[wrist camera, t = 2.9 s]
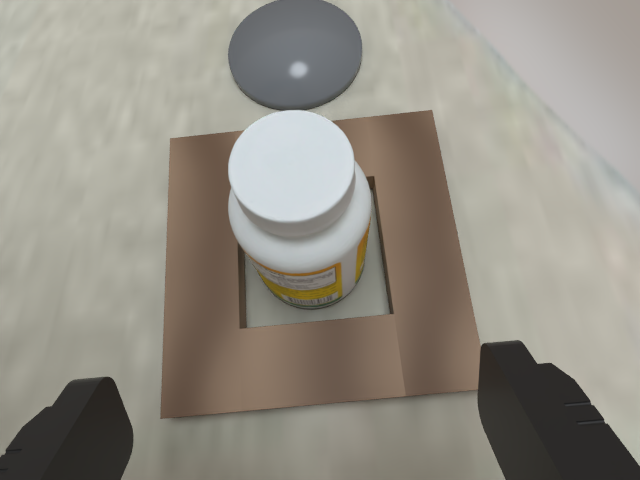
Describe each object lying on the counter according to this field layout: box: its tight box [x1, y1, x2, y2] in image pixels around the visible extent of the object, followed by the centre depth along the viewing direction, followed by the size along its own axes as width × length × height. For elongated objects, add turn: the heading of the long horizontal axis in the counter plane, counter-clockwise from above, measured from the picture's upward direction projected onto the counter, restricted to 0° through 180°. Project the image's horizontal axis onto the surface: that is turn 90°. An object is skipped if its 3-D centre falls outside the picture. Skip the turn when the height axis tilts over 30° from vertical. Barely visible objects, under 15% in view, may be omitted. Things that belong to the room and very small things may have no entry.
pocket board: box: [161, 110, 481, 419], centre depth 22 cm, size 14×14×2 cm
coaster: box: [228, 0, 362, 110], centre depth 27 cm, size 8×8×1 cm
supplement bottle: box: [228, 110, 371, 309], centre depth 18 cm, size 5×5×10 cm
